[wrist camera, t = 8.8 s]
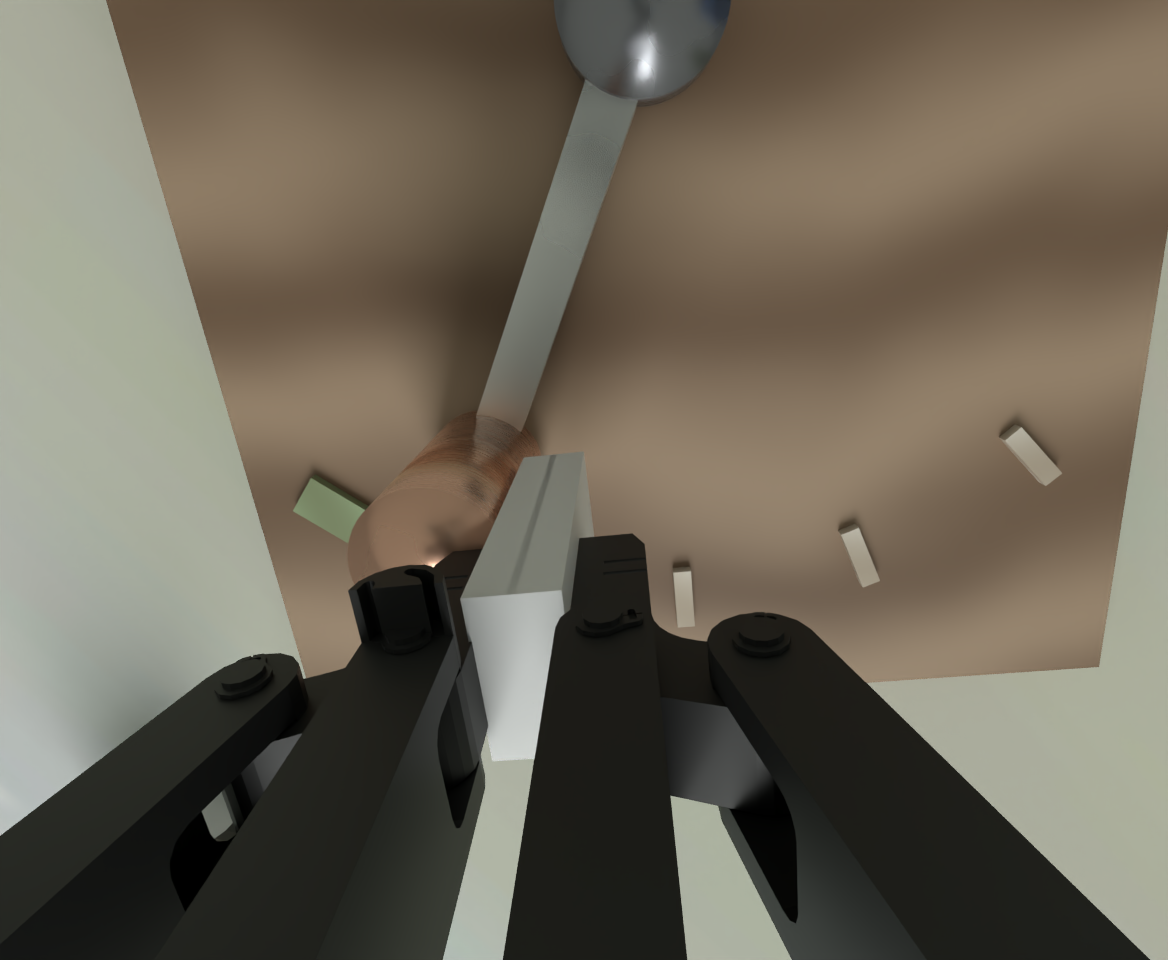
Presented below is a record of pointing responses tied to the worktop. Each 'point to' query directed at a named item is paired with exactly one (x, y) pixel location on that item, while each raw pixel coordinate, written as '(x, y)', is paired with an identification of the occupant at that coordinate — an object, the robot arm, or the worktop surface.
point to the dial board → (698, 296)
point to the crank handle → (540, 279)
